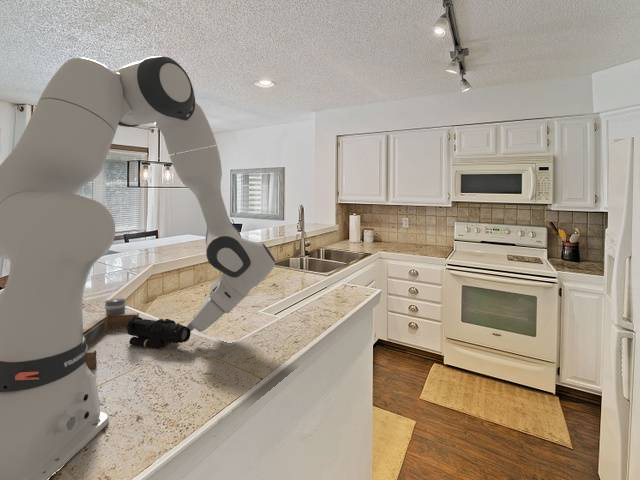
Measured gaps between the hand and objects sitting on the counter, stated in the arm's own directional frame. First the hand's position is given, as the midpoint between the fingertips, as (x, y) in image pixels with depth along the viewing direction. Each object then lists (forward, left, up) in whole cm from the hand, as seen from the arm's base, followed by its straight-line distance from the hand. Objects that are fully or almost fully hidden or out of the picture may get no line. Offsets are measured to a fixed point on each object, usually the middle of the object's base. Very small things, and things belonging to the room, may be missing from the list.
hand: (189, 327), depth 88 cm
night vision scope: (-1, +8, -5) cm, 9 cm away
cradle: (0, +22, -4) cm, 22 cm away
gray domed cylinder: (+17, +26, -4) cm, 31 cm away
